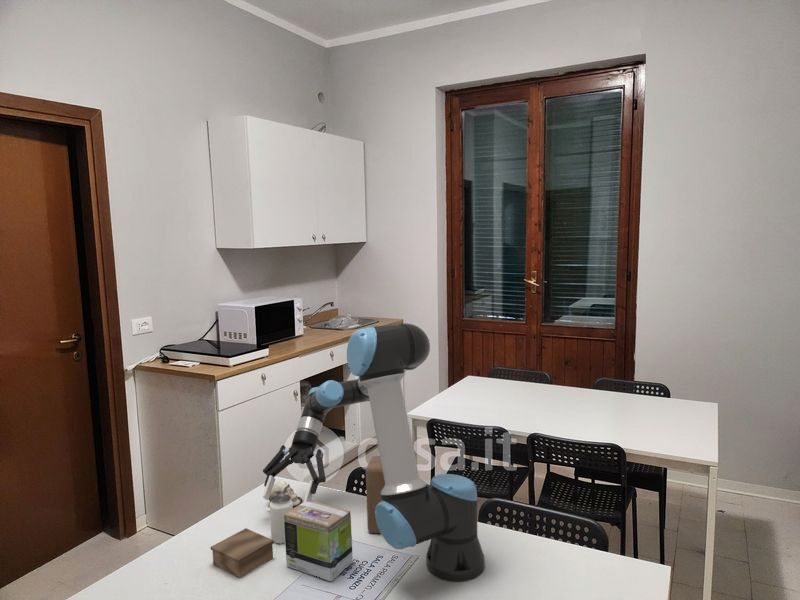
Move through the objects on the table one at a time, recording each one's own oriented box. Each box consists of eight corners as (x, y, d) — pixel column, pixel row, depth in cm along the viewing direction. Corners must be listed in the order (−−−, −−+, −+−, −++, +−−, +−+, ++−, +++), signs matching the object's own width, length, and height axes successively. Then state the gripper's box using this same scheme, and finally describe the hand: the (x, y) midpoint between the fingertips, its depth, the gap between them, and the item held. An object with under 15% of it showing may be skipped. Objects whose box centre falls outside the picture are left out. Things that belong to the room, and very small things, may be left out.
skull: (310, 494, 189) (300, 481, 182) (299, 525, 183) (288, 513, 175) (279, 489, 193) (267, 475, 186) (267, 519, 187) (254, 506, 179)
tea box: (354, 563, 150) (352, 509, 149) (330, 583, 142) (328, 527, 140) (309, 548, 158) (307, 497, 156) (285, 567, 149) (282, 513, 148)
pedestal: (274, 557, 154) (273, 540, 153) (239, 579, 144) (238, 560, 144) (246, 545, 161) (245, 528, 160) (211, 564, 151) (210, 546, 151)
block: (401, 536, 163) (399, 469, 161) (367, 534, 165) (364, 467, 163) (406, 519, 173) (404, 455, 171) (374, 517, 175) (372, 454, 172)
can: (296, 532, 167) (295, 493, 165) (290, 544, 160) (288, 504, 159) (275, 532, 167) (273, 493, 166) (268, 544, 161) (266, 503, 160)
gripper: (347, 443, 178) (328, 511, 165) (277, 436, 186) (254, 500, 173) (339, 432, 172) (319, 502, 160) (267, 425, 180) (243, 491, 168)
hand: (285, 501), depth 167 cm, fingers open, 13 cm apart
